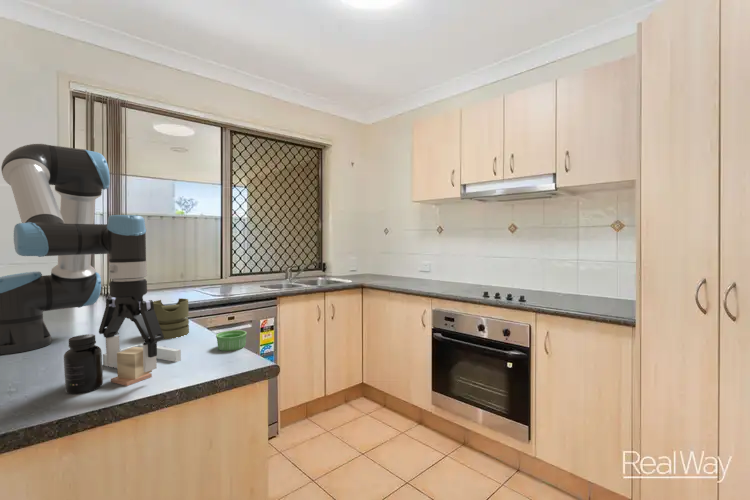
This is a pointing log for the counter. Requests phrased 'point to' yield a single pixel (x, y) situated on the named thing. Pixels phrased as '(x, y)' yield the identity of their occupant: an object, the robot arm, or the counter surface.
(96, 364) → the supplement bottle
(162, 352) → the channel
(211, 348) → the counter surface
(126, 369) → the block
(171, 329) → the piston
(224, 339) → the ramekin
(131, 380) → the tile
